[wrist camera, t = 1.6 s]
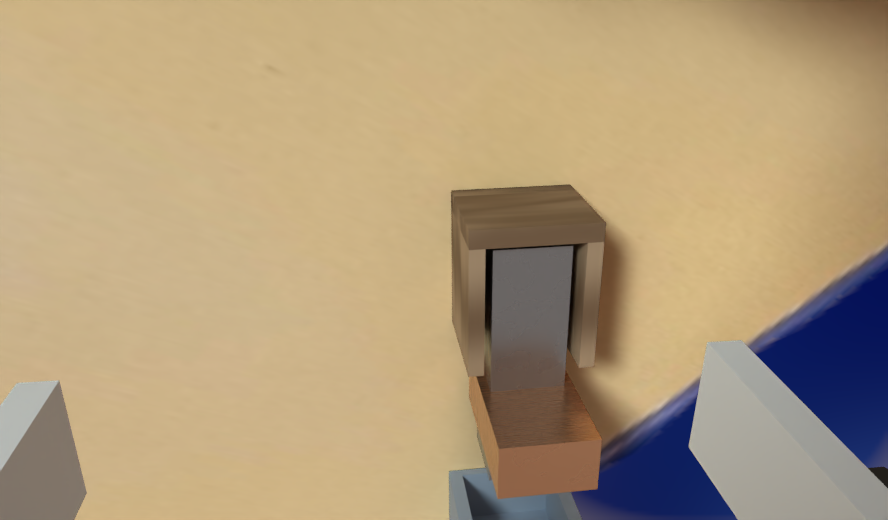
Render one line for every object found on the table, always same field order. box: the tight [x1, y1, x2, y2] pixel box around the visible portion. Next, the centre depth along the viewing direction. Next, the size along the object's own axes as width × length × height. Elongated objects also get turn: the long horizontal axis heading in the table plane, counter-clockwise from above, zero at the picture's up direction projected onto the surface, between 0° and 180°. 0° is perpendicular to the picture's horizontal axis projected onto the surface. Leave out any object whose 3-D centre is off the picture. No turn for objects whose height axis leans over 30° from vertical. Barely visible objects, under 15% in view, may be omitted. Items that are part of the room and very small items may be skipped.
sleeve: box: [451, 185, 606, 377], centre depth 38 cm, size 8×7×6 cm
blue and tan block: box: [469, 244, 602, 499], centre depth 38 cm, size 14×5×9 cm, turn 1°
